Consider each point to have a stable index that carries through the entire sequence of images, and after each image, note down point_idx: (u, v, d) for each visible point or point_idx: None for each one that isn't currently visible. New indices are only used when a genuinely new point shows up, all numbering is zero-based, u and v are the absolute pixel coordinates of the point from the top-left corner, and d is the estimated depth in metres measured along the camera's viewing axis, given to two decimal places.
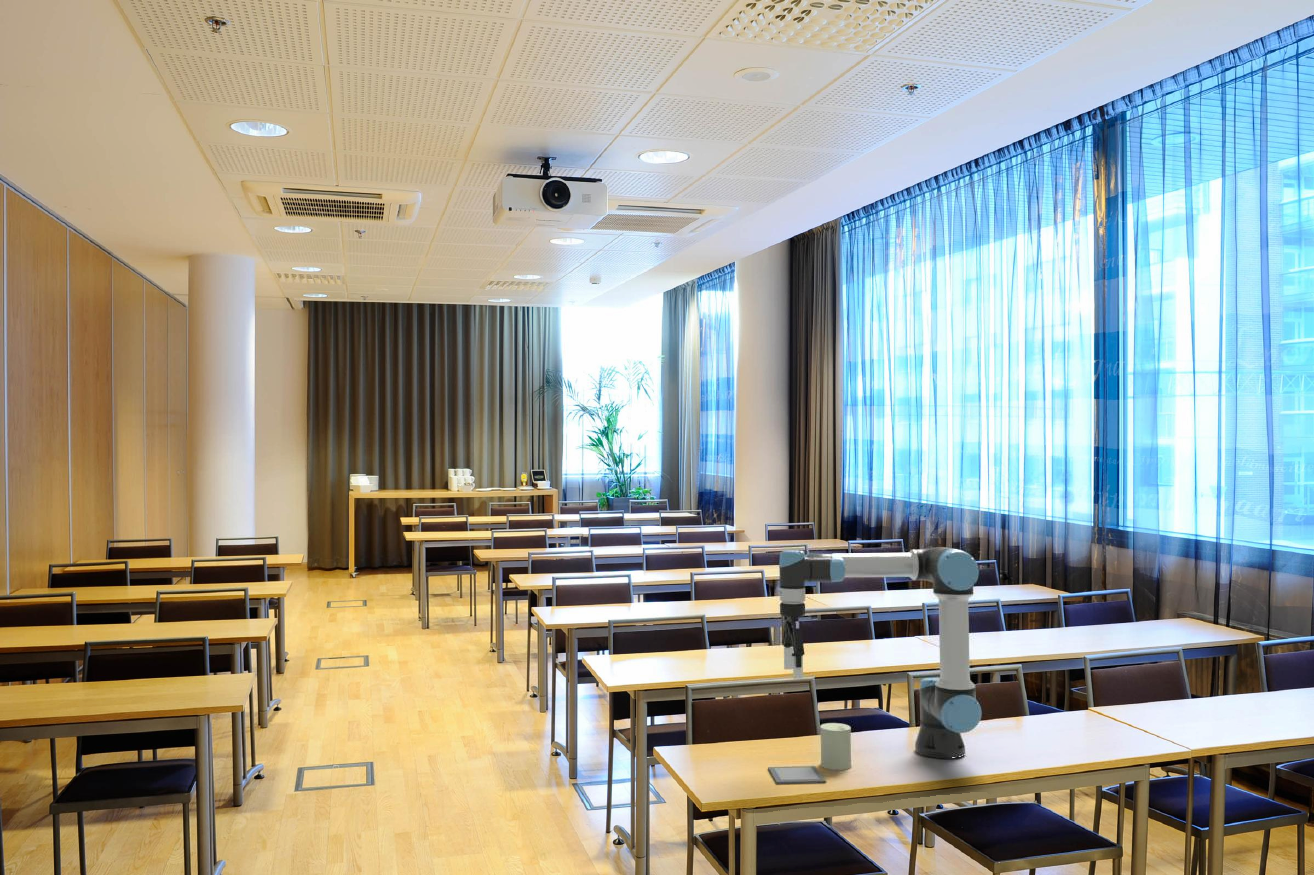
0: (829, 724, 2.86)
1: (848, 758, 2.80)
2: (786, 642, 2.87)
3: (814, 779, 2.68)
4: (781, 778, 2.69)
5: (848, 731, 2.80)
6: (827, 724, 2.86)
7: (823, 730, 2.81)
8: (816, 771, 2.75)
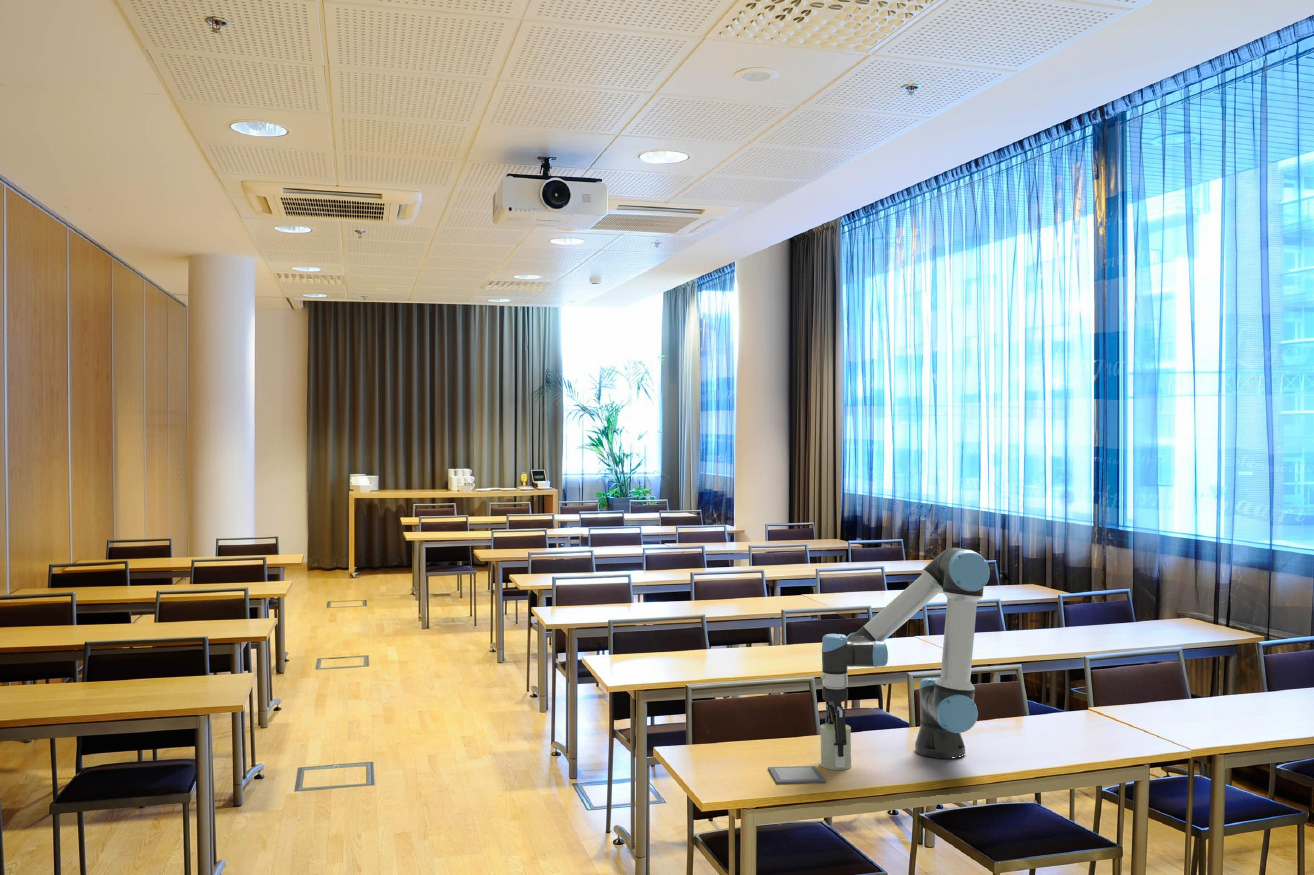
0: (829, 724, 2.86)
1: (848, 758, 2.80)
2: None
3: (814, 779, 2.68)
4: (781, 778, 2.69)
5: (848, 731, 2.80)
6: (827, 724, 2.86)
7: (823, 730, 2.81)
8: (816, 771, 2.75)
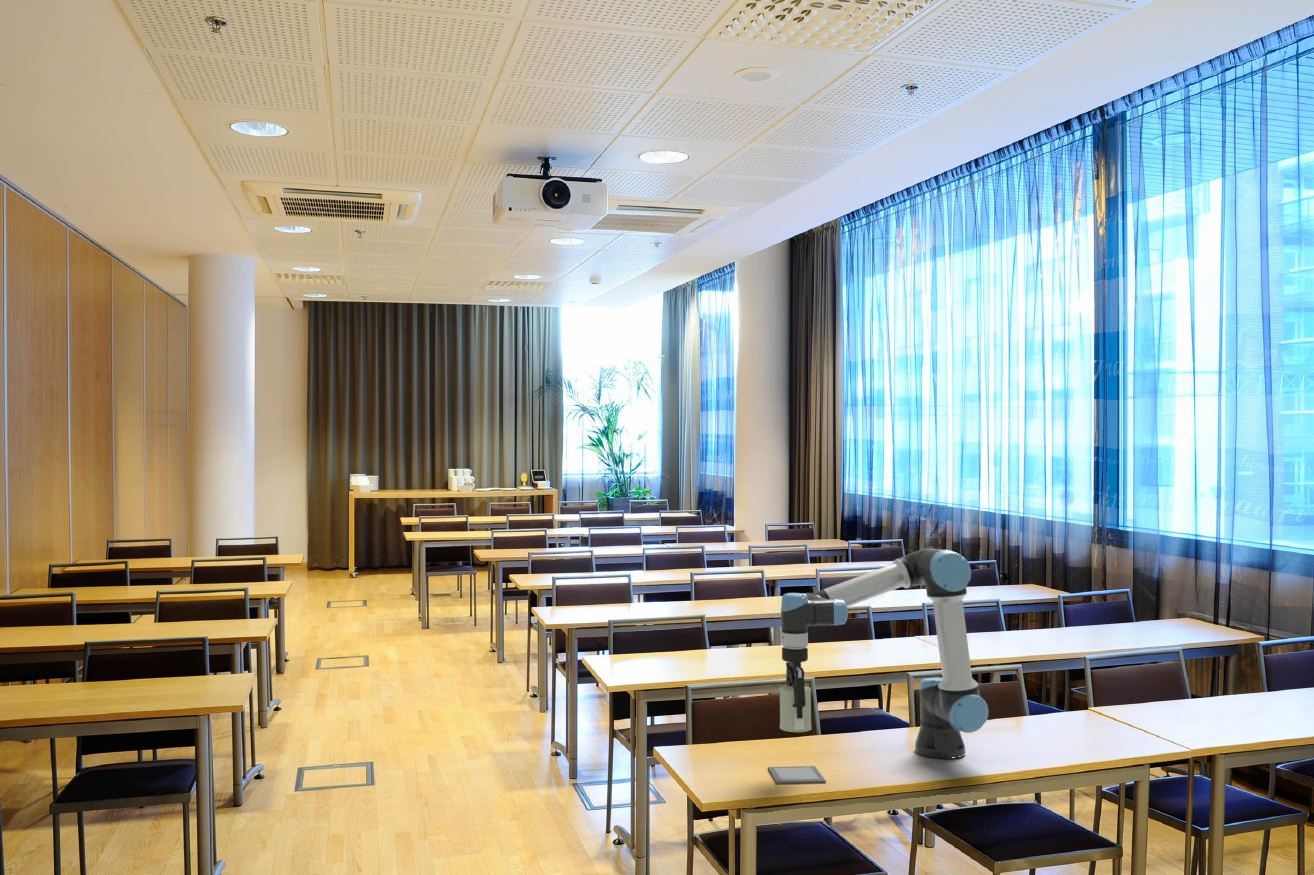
0: (789, 686, 2.77)
1: (807, 720, 2.71)
2: None
3: (814, 779, 2.68)
4: (781, 778, 2.69)
5: (808, 692, 2.71)
6: (787, 686, 2.77)
7: (782, 691, 2.72)
8: (816, 771, 2.75)
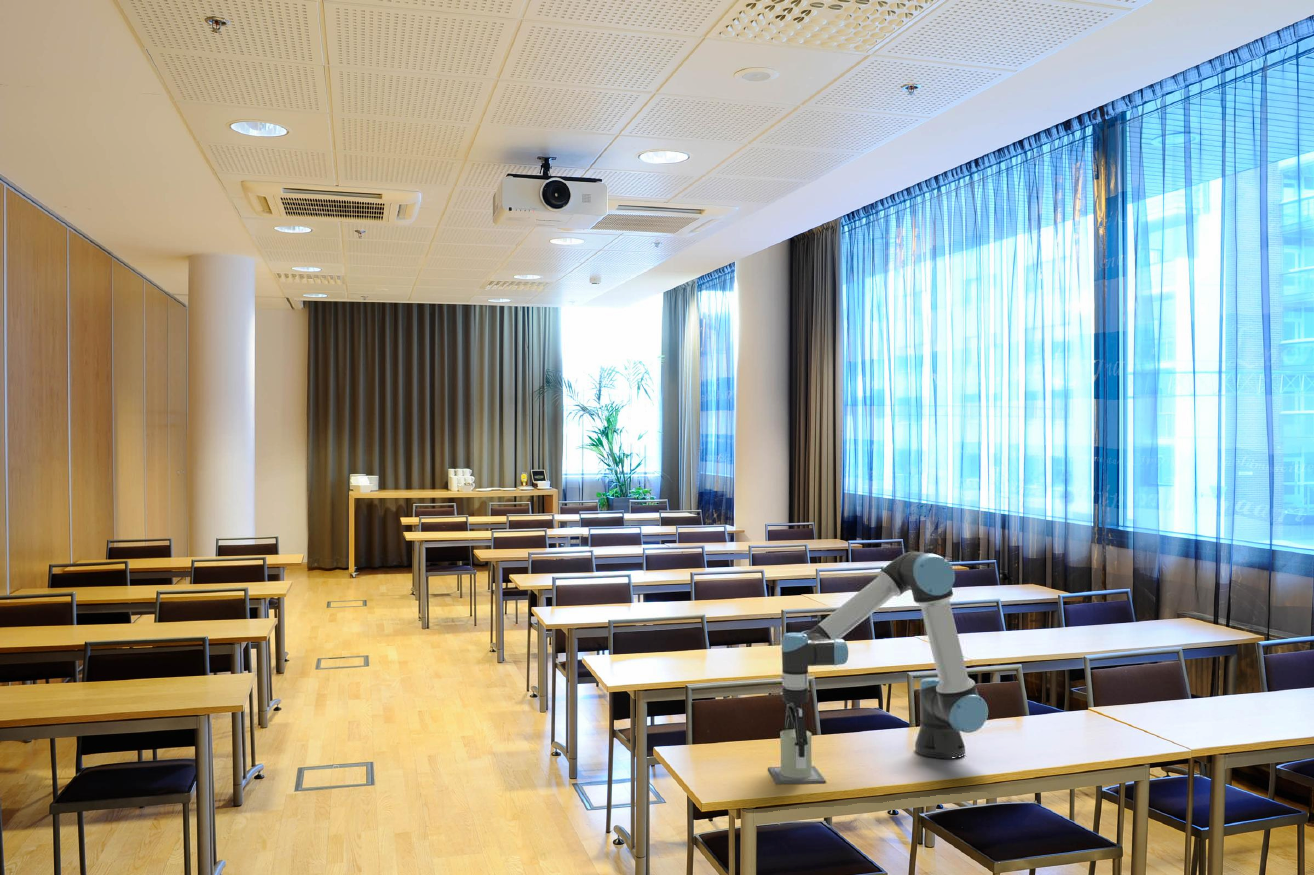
0: (790, 730, 2.77)
1: (808, 766, 2.70)
2: (789, 726, 2.80)
3: (814, 779, 2.68)
4: (781, 778, 2.69)
5: (808, 738, 2.71)
6: (787, 730, 2.77)
7: (783, 737, 2.72)
8: (816, 771, 2.75)
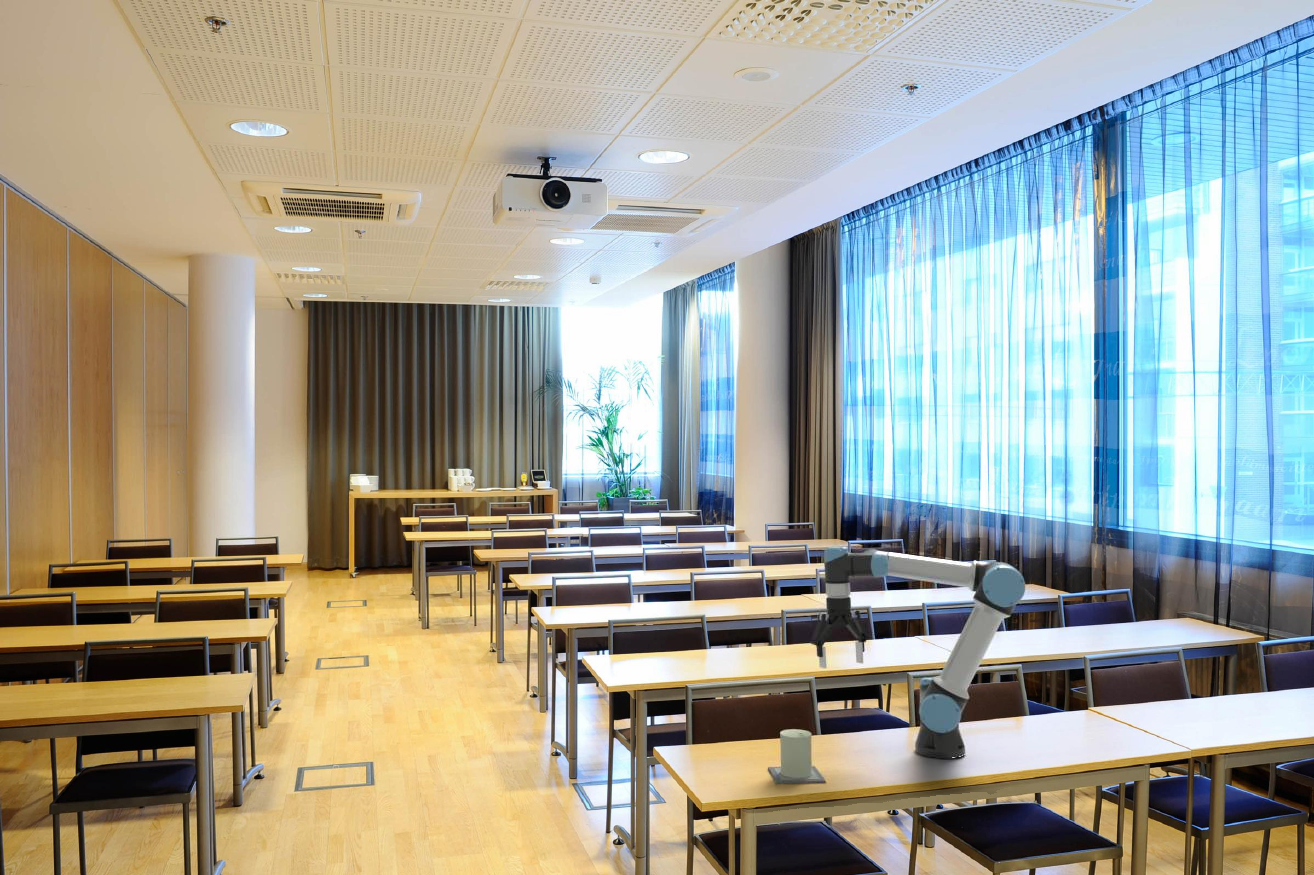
0: (789, 730, 2.77)
1: (808, 766, 2.70)
2: (855, 636, 2.96)
3: (814, 779, 2.68)
4: (781, 778, 2.69)
5: (808, 738, 2.71)
6: (787, 730, 2.77)
7: (783, 737, 2.72)
8: (816, 771, 2.75)
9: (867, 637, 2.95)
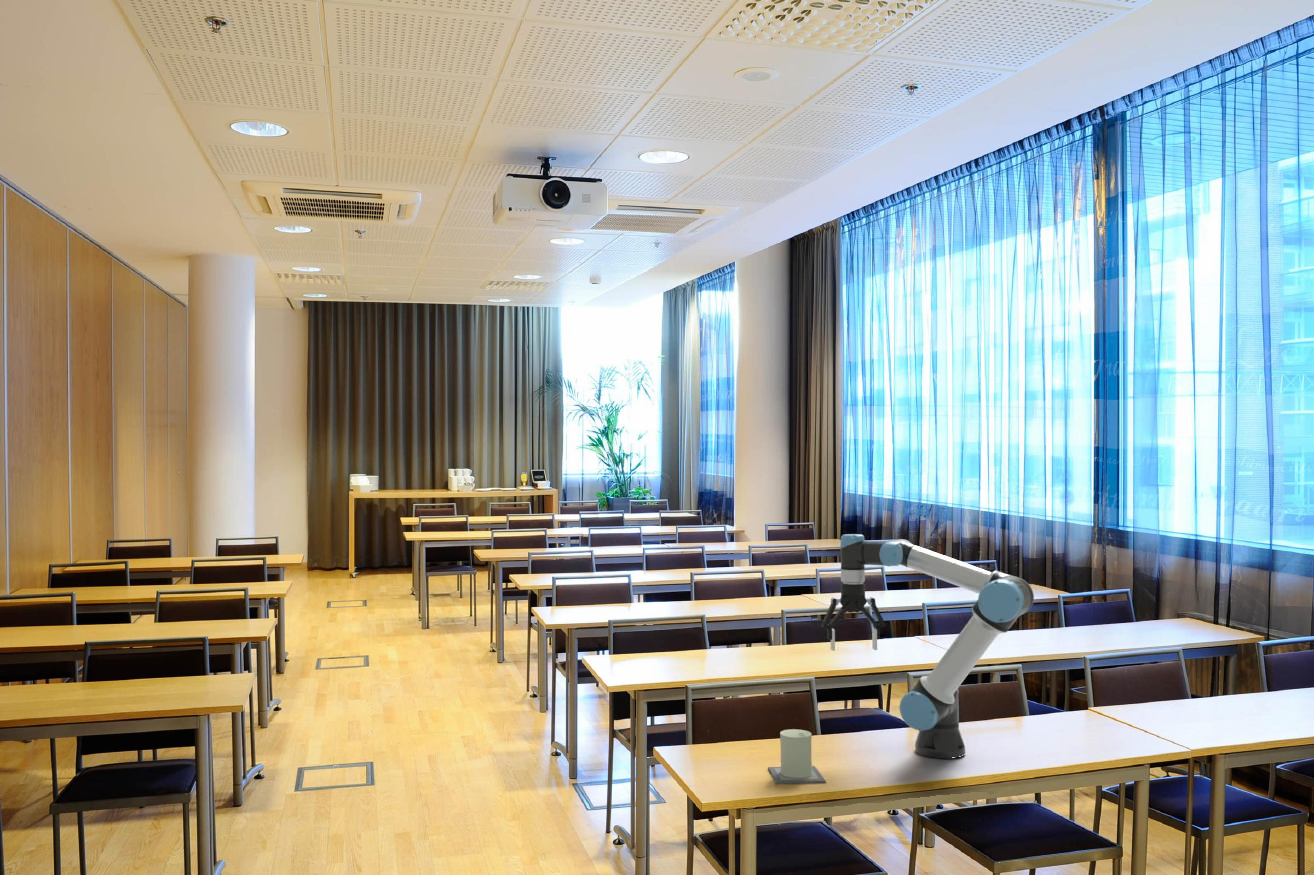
0: (789, 730, 2.77)
1: (808, 766, 2.70)
2: None
3: (814, 779, 2.68)
4: (781, 778, 2.69)
5: (808, 738, 2.71)
6: (787, 730, 2.77)
7: (783, 737, 2.72)
8: (816, 771, 2.75)
9: (883, 625, 3.00)
